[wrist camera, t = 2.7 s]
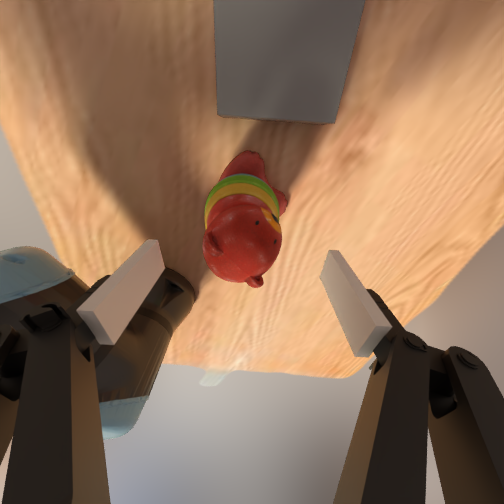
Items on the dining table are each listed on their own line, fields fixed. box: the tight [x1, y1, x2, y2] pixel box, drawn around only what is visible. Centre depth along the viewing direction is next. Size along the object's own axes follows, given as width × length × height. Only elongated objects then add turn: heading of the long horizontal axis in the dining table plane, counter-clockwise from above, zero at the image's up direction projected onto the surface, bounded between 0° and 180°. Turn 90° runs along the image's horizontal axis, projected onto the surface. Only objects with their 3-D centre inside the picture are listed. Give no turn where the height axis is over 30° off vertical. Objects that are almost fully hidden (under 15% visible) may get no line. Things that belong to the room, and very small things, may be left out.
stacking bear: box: [203, 151, 287, 288], centre depth 22 cm, size 11×10×18 cm
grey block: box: [214, 0, 365, 125], centre depth 18 cm, size 13×14×4 cm
